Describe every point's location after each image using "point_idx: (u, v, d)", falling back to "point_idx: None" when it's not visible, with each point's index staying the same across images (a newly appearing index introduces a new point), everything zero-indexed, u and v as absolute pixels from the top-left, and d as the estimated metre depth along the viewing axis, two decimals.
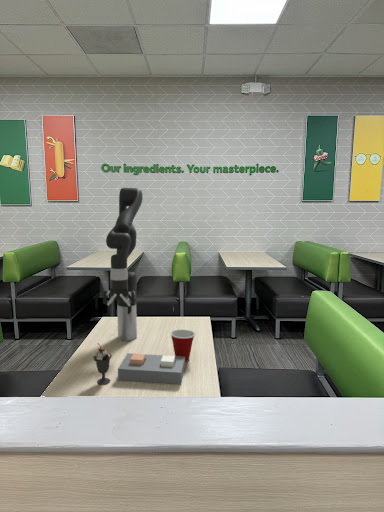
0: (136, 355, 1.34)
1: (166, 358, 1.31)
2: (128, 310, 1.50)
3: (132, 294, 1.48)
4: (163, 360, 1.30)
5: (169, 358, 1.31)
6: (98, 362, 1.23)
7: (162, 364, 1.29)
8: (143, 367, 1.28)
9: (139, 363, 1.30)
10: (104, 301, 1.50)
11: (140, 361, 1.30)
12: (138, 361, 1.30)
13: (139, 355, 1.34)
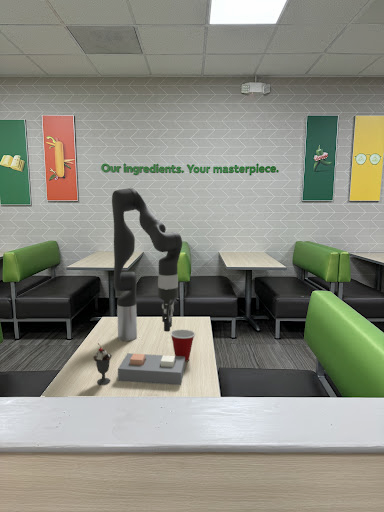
0: (136, 355, 1.34)
1: (166, 358, 1.31)
2: (171, 322, 1.31)
3: (173, 302, 1.33)
4: (163, 360, 1.30)
5: (169, 358, 1.31)
6: (98, 362, 1.23)
7: (162, 364, 1.29)
8: (143, 367, 1.28)
9: (139, 363, 1.30)
10: (169, 319, 1.24)
11: (140, 361, 1.30)
12: (138, 361, 1.30)
13: (139, 355, 1.34)
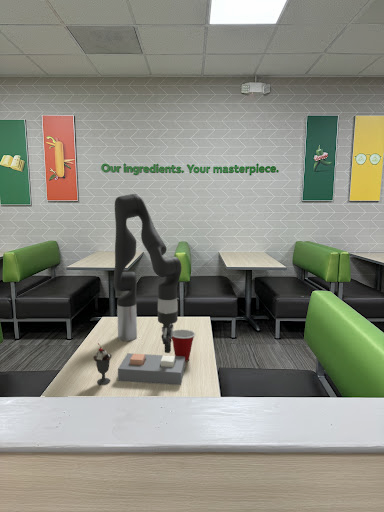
0: (136, 355, 1.34)
1: (166, 358, 1.31)
2: (170, 347, 1.31)
3: None
4: (163, 360, 1.30)
5: (169, 358, 1.31)
6: (98, 362, 1.23)
7: (162, 364, 1.29)
8: (143, 367, 1.28)
9: (139, 363, 1.30)
10: (169, 341, 1.27)
11: (140, 361, 1.30)
12: (138, 361, 1.30)
13: (139, 355, 1.34)
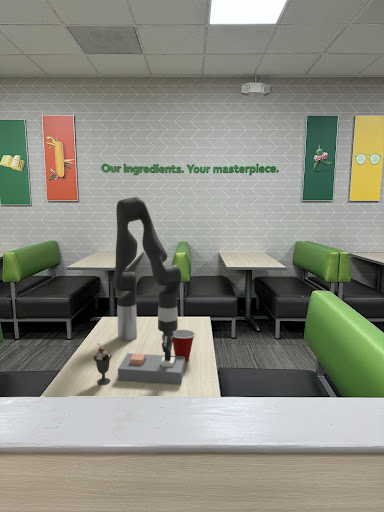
0: (136, 355, 1.34)
1: None
2: (170, 355, 1.31)
3: None
4: (163, 361, 1.30)
5: None
6: (98, 362, 1.23)
7: (162, 365, 1.29)
8: (143, 367, 1.28)
9: (139, 363, 1.30)
10: (169, 349, 1.28)
11: (140, 361, 1.30)
12: (138, 361, 1.30)
13: (139, 355, 1.34)
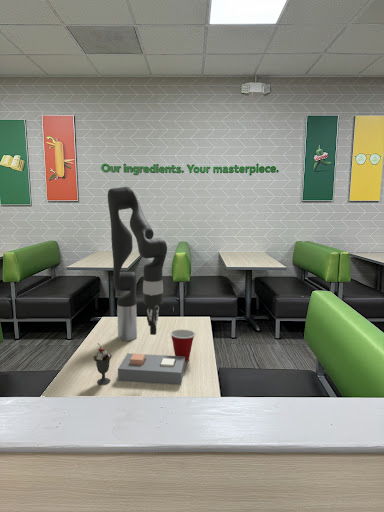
0: (136, 355, 1.34)
1: (166, 361, 1.31)
2: None
3: None
4: (163, 363, 1.30)
5: (169, 361, 1.32)
6: (98, 362, 1.23)
7: None
8: (143, 367, 1.28)
9: (139, 363, 1.30)
10: (155, 322, 1.27)
11: (140, 361, 1.30)
12: (138, 361, 1.30)
13: (139, 355, 1.34)
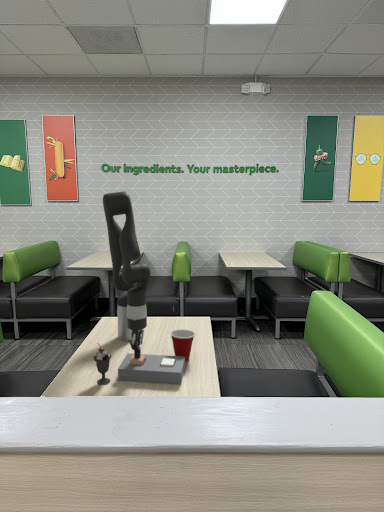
0: None
1: (166, 361, 1.31)
2: (140, 352, 1.32)
3: (143, 332, 1.36)
4: (163, 363, 1.30)
5: (169, 361, 1.32)
6: (98, 362, 1.23)
7: None
8: (143, 367, 1.28)
9: (139, 364, 1.30)
10: (138, 346, 1.29)
11: (140, 362, 1.30)
12: (138, 362, 1.30)
13: None
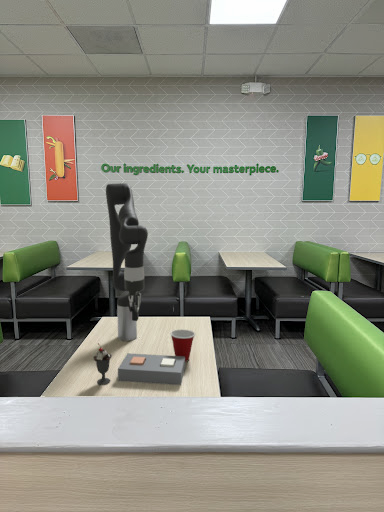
0: (136, 358, 1.34)
1: (166, 361, 1.31)
2: None
3: None
4: (163, 363, 1.30)
5: (169, 361, 1.32)
6: (98, 362, 1.23)
7: None
8: (143, 367, 1.28)
9: None
10: (136, 309, 1.29)
11: (140, 364, 1.30)
12: (138, 364, 1.30)
13: (139, 358, 1.34)
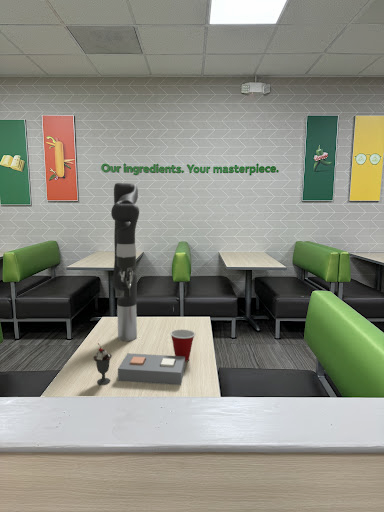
0: (136, 358, 1.34)
1: (166, 361, 1.31)
2: (130, 292, 1.37)
3: (133, 273, 1.40)
4: (163, 363, 1.30)
5: (169, 361, 1.32)
6: (98, 362, 1.23)
7: None
8: (143, 367, 1.28)
9: None
10: (128, 285, 1.33)
11: (140, 364, 1.30)
12: (138, 364, 1.30)
13: (139, 358, 1.34)
